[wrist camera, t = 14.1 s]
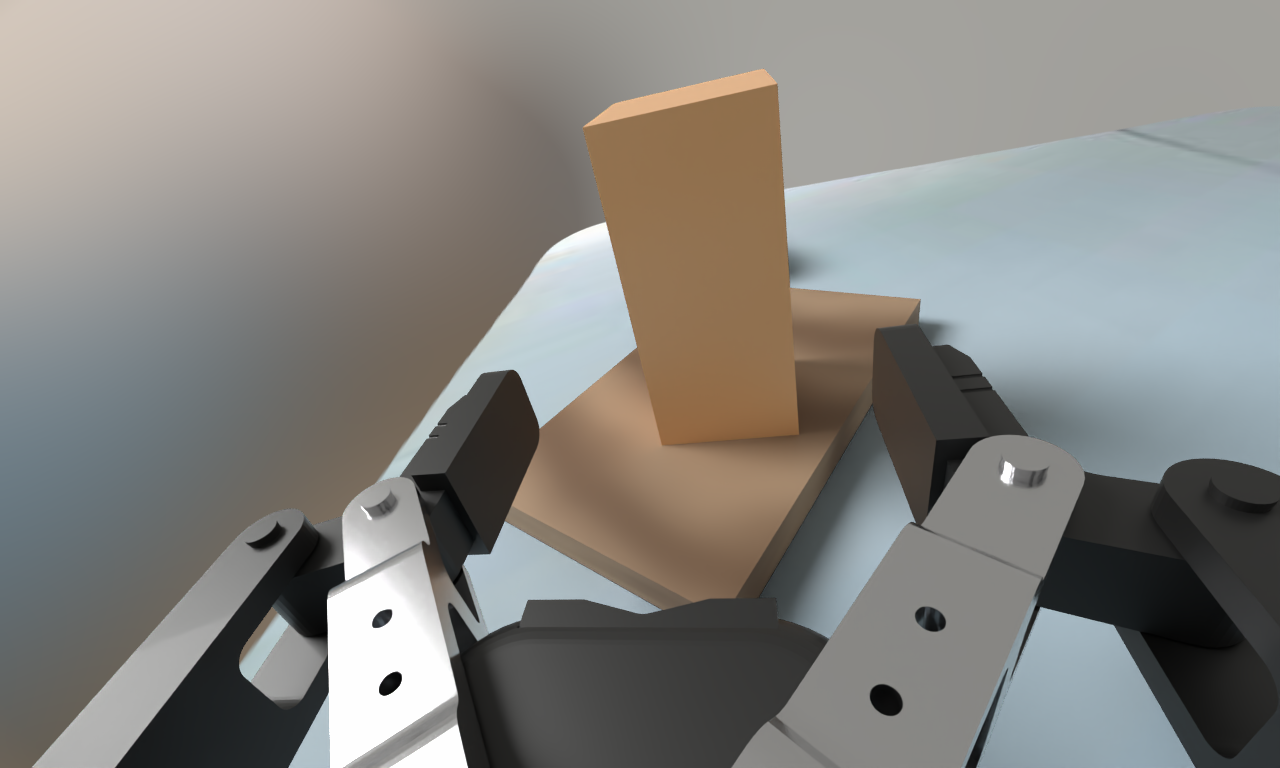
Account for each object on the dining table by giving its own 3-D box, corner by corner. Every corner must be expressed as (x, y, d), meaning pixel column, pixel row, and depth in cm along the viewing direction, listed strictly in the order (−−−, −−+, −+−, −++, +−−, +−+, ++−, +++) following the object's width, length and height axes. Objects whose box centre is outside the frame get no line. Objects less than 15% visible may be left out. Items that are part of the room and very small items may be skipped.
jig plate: (719, 302, 34) (707, 225, 32) (918, 325, 27) (926, 228, 24) (485, 509, 23) (434, 415, 20) (729, 647, 15) (703, 529, 13)
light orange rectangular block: (671, 373, 26) (614, 103, 19) (785, 360, 25) (763, 68, 18) (662, 445, 21) (582, 127, 15) (798, 434, 20) (777, 83, 14)
